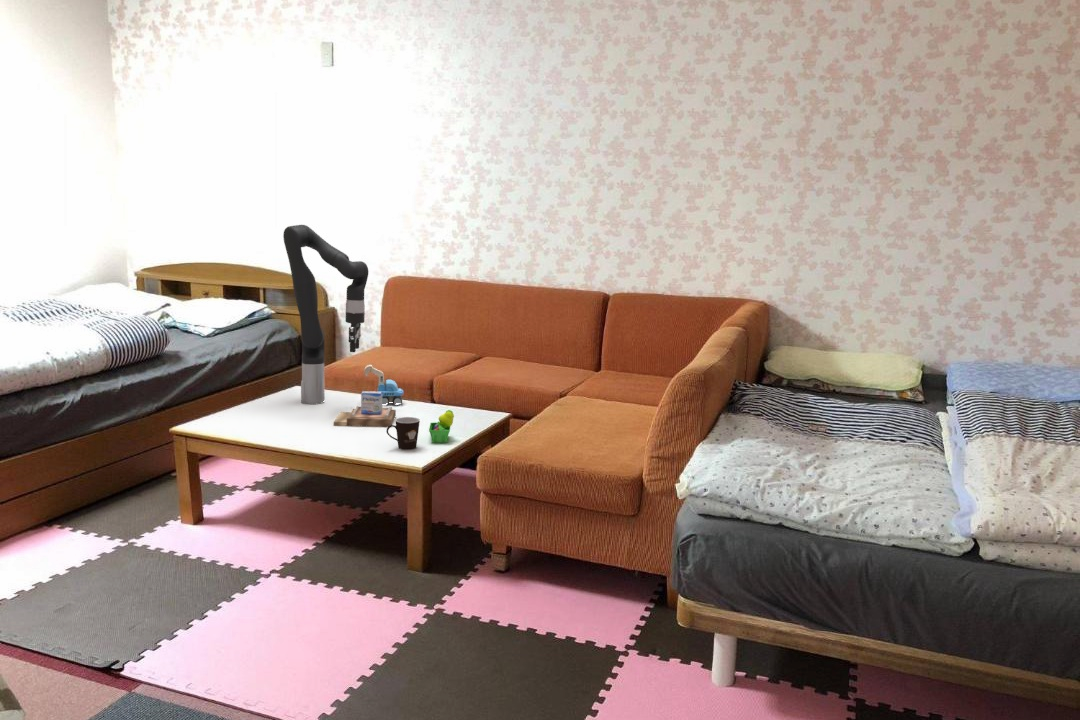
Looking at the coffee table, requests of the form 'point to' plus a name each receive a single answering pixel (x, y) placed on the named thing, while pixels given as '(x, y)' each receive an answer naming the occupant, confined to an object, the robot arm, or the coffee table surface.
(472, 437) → the coffee table surface
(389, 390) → the toy excavator
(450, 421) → the fruit basket
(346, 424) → the tan shallow tray
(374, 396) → the medicine box
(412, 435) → the coffee mug
